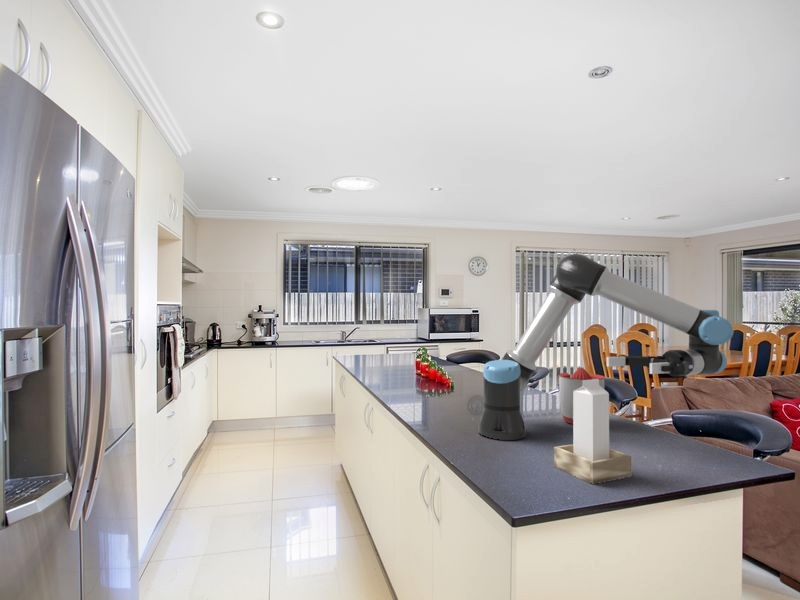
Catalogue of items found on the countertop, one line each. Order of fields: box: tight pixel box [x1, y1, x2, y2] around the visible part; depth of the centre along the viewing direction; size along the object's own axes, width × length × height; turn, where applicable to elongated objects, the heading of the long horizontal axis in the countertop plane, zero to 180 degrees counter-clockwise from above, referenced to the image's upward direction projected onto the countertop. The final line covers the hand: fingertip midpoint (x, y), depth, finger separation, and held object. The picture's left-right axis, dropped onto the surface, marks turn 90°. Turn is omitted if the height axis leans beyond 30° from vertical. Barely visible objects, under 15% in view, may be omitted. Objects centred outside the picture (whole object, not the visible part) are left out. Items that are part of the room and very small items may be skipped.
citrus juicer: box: [558, 366, 606, 426], centre depth 158 cm, size 16×17×20 cm
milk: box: [572, 379, 610, 461], centre depth 110 cm, size 6×6×22 cm
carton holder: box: [553, 443, 632, 485], centre depth 109 cm, size 13×13×5 cm
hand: (628, 365), depth 118 cm, fingers open, 13 cm apart
